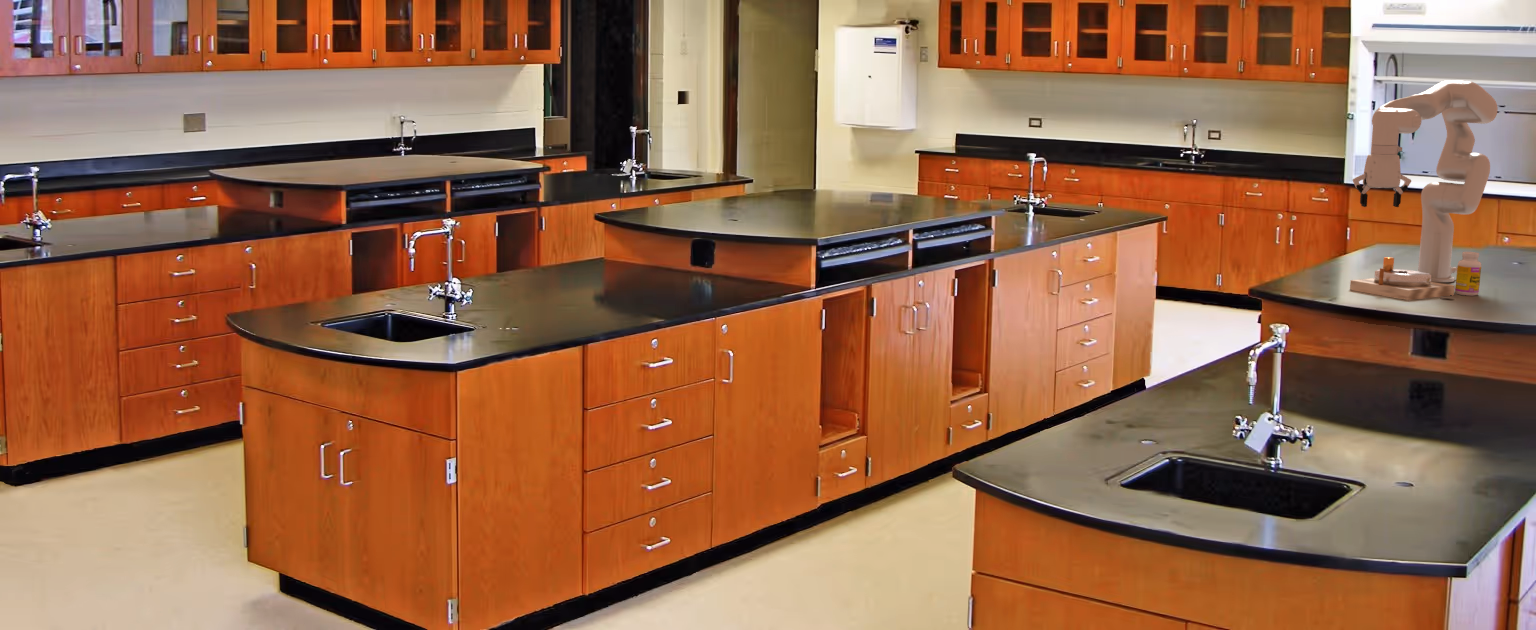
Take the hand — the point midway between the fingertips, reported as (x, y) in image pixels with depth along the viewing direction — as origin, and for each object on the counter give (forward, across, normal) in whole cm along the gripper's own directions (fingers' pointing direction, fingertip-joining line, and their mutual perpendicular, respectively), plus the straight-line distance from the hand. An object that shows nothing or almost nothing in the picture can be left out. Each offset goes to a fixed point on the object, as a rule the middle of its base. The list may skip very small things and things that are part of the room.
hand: (1379, 206), depth 478 cm
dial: (+22, -6, +7) cm, 24 cm away
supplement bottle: (+26, -26, +7) cm, 37 cm away
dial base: (+26, -6, +7) cm, 27 cm away
